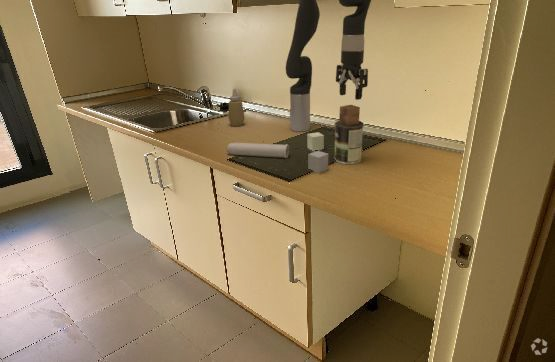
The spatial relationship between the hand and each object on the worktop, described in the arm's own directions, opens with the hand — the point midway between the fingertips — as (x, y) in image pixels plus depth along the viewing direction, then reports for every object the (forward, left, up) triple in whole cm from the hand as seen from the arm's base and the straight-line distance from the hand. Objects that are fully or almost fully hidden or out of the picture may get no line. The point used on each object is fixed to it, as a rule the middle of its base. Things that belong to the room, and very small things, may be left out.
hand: (350, 97), depth 135 cm
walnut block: (0, 0, -10) cm, 10 cm away
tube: (-24, -26, -24) cm, 43 cm away
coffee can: (0, 0, -24) cm, 24 cm away
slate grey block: (+2, -15, -24) cm, 28 cm away
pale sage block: (-17, -3, -24) cm, 29 cm away
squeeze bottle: (-69, -15, -24) cm, 75 cm away
